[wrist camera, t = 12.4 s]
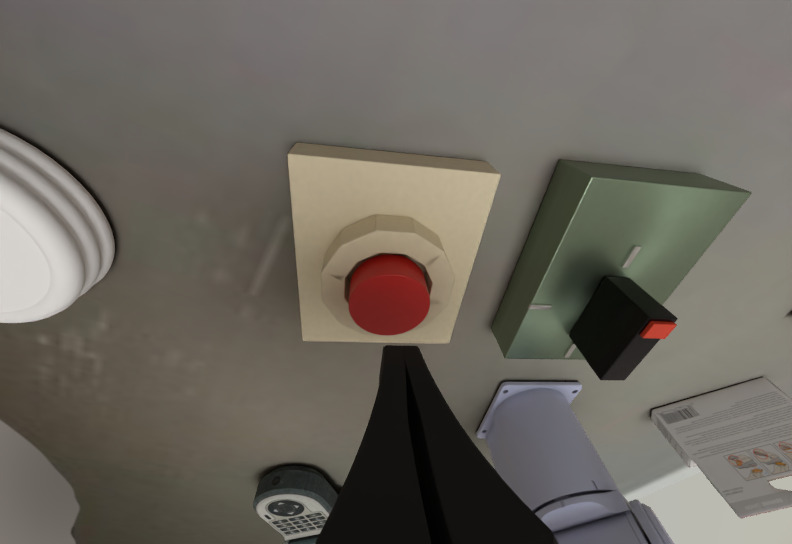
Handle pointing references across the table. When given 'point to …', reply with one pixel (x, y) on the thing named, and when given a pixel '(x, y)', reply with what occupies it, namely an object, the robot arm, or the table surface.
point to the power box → (384, 231)
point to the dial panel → (606, 247)
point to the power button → (388, 295)
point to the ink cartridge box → (736, 442)
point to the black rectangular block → (620, 328)
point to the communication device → (295, 502)
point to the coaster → (46, 235)
